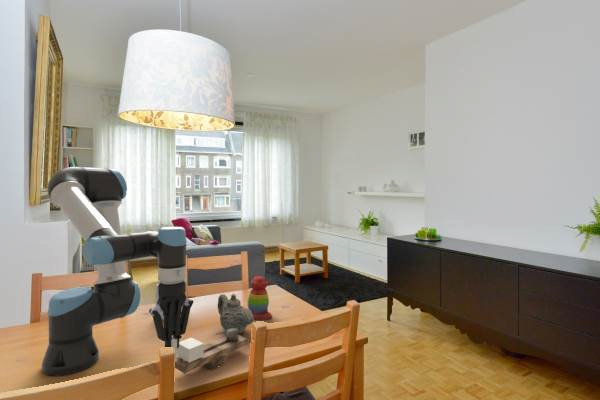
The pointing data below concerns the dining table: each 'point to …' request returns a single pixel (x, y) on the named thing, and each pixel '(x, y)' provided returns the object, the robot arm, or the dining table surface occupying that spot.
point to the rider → (190, 350)
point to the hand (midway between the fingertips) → (172, 360)
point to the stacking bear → (259, 299)
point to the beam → (214, 352)
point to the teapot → (233, 313)
